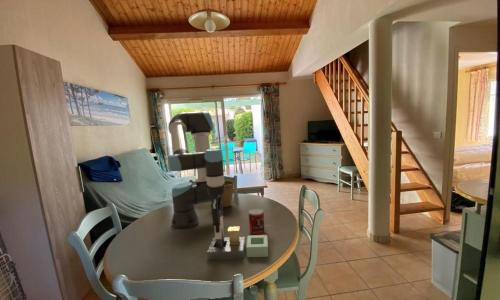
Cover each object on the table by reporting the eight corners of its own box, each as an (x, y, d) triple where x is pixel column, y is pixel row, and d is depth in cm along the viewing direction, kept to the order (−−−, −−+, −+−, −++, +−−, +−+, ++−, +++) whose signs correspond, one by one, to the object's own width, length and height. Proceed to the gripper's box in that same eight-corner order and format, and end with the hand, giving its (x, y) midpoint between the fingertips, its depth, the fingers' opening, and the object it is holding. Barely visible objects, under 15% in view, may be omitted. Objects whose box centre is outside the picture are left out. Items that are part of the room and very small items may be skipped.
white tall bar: (216, 244, 107) (214, 208, 105) (225, 244, 107) (222, 208, 105) (215, 249, 103) (212, 212, 101) (224, 248, 103) (221, 211, 101)
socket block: (213, 244, 111) (213, 237, 111) (245, 243, 111) (244, 236, 110) (207, 259, 99) (207, 251, 99) (243, 258, 99) (242, 250, 98)
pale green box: (248, 244, 110) (247, 235, 109) (267, 244, 109) (267, 234, 109) (247, 257, 100) (246, 247, 99) (268, 256, 99) (267, 246, 99)
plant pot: (239, 203, 165) (238, 181, 163) (226, 210, 153) (224, 187, 151) (223, 200, 173) (221, 179, 171) (209, 207, 161) (207, 184, 159)
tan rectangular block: (230, 248, 107) (228, 226, 106) (241, 247, 107) (239, 226, 105) (229, 253, 103) (227, 230, 102) (240, 252, 103) (239, 230, 101)
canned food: (252, 236, 117) (250, 215, 116) (248, 229, 125) (246, 209, 124) (266, 233, 119) (265, 212, 118) (261, 227, 127) (260, 207, 126)
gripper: (211, 179, 110) (214, 227, 113) (202, 191, 93) (206, 246, 96) (227, 179, 110) (230, 226, 113) (221, 190, 93) (225, 245, 96)
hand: (219, 235), depth 105 cm, fingers closed on white tall bar, 4 cm apart
